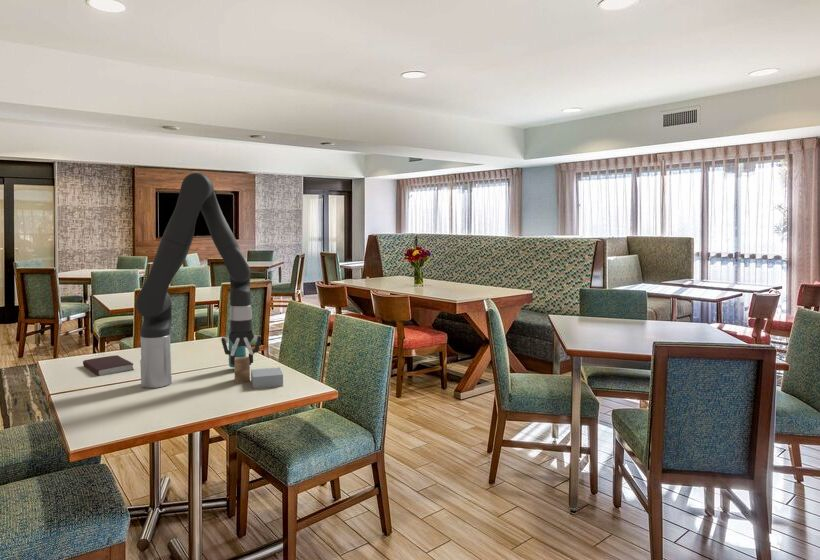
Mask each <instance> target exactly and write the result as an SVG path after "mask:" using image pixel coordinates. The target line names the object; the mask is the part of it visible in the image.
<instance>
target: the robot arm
mask: <svg viewBox="0 0 820 560" xmlns="http://www.w3.org/2000/svg"><path fill="white" fill-rule="evenodd" d="M200 212H201V214H202V216H203V218H204V221H205V223H206V226H207V228H208V231H209V235H210V237H211V239H212V242H213V243H214V245H215V248H216V250H217V251H218V254H219V256H220V257H221V258H222V261H223V263H224V265H225V268H226V269H227V272H228V274H229V281H230V282H229V284H230V293H229V305H230V306H229V316H228V317H229V328H230V334H229V336H228V335H227V336H225V337H224V336H222V337H221V338H220V341H221V344H222V348H223V350H224V354H225V355H228V356H229V355H230V363H231V365H233V366H235V355H234V353H235V350H236V348H237V347H240V346H246V349H247V350H248V357H249V360H250V366H251V365H252V364H253V363H254V354H256V353H259V350H260V345H261V342H262V336H261V335H260V334H258V335H257V334H254V332H253V310H252V293H251V289H250V287H251V272H252V271H251V267H250V266H249V264H248V262H247V261H246V258H245V256H244V255H243V253H242V251H241V248H240V246H239V243H238V241H237V239H236V237H235V235H234V234H233V231H232V229H231V228H230V224H229V223H228V222H227V219H226V218H225V216H224V214H223V211H222V209H221V206H220V204H219V201H218V199H217V195H216V193H215V188H214V184H213V181H212V180H211V178H210V177H209V176H207V175H205V174H203V173H199V172H192V173H189V174H187V175H186V176H185V177H184V178H183V180H182V182H181V185H180V190H179V194H178V198H177V201H176V204H175V208H174V210H173V212H172V214H171V216H170V218H169V221H168V223H167V225H166V227H165V229H164V232H163V235H162V237H161V239H160V241H159V243H158V247H157V251H156V253H155V256H154V259H153V261H152V265H151V267H150V271H149V273H148V276H147V278H146V280H145V282H144V284H143V286H142V288H141V289H140V291H139V293H138V295H137V297H136V300H135V308H136V311H137V313H138V314H139V315H140V316H142V317H143V322H142V325H141V326H140V329H139V331H140V332H139V334H140V335H139V336H140V337H139V338H140V339H139V340H140V357H141V358H140V361H139V363H140V365H139V366H140V383H141V384H140V386H141V388H148V389H152V388H155V389H156V388H162V387H167V386H169V385H171V384H172V355H171V354H172V353H171V349H172V348H171V326H172V321H173V320H172V317H173V316H172V315H173V314H172V312H173V311H172V309H173V308H172V307H173V306H172V299H171V295H170V294H169V292H168V290H169V287H170V285H171V282H172V281H173V279H174V277H175V276H176V274H177V272H179V270H180V268H182V265H183V264H184V262H185V260H186V258H187V256H188V254H189V251H190V249H191V246H192V243H193V239H194V236H195V235H194V234H195V229H196V223H197V220H198V217H199V214H200ZM229 339H230V340H231V342H232V343H233V346H232V349H231V351H229V347H228V345H227V344H229V341H228V340H229ZM253 339H254V341H255V344H254V345H255V346H254V348H253V347H252V346H251V342H252V341H253ZM252 348H253V349H252Z"/></svg>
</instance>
